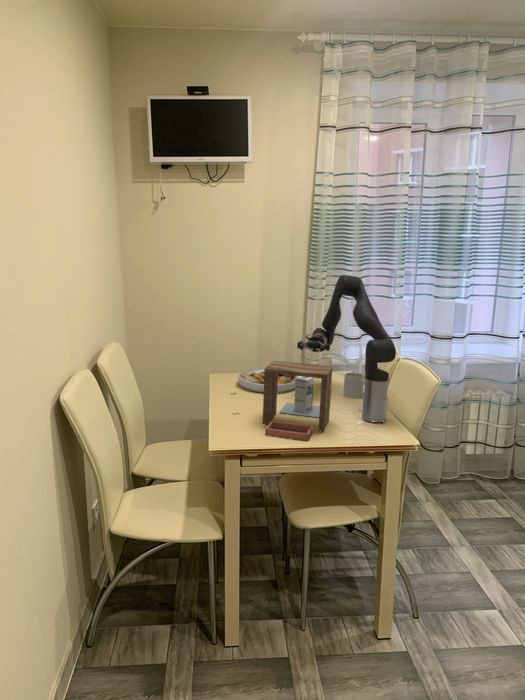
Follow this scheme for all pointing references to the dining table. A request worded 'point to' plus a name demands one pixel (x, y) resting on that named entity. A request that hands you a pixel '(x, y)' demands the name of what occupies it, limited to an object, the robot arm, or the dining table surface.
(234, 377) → the dining table surface
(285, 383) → the bowl
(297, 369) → the walnut tunnel
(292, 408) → the pad
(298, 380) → the syrup box
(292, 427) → the tray
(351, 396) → the mug
